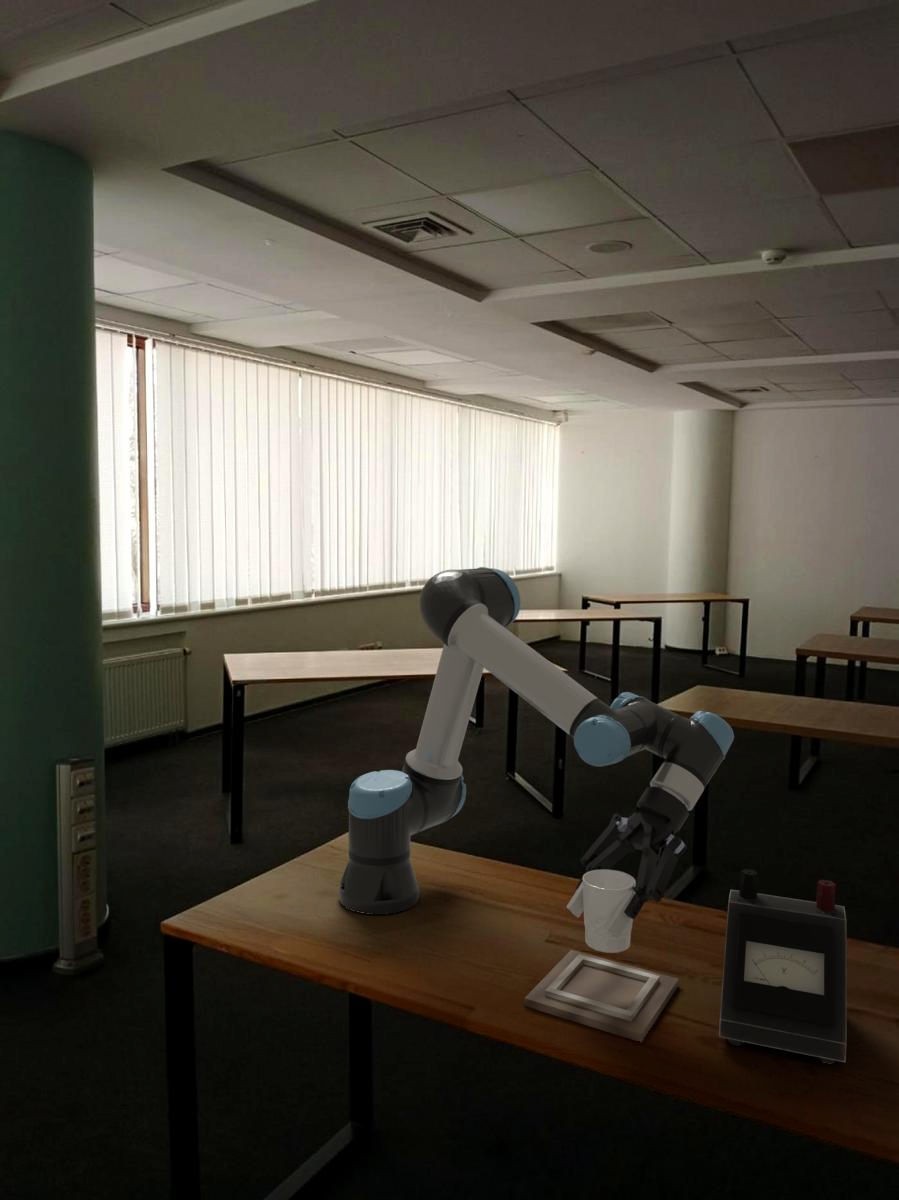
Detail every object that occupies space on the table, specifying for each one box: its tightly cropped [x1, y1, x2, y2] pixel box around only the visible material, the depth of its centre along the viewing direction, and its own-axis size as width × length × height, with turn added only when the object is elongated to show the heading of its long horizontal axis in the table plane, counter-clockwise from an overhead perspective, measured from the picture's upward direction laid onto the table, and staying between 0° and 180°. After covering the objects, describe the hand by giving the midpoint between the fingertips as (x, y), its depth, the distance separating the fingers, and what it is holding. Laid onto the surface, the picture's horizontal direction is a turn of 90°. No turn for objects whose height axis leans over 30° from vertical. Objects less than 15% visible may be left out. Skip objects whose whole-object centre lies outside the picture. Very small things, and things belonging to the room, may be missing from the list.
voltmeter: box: [718, 868, 847, 1063], centre depth 130 cm, size 16×16×20 cm
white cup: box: [582, 869, 637, 954], centre depth 137 cm, size 8×8×10 cm
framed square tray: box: [523, 949, 680, 1043], centre depth 139 cm, size 18×18×2 cm
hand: (591, 922), depth 136 cm, fingers closed on white cup, 8 cm apart
